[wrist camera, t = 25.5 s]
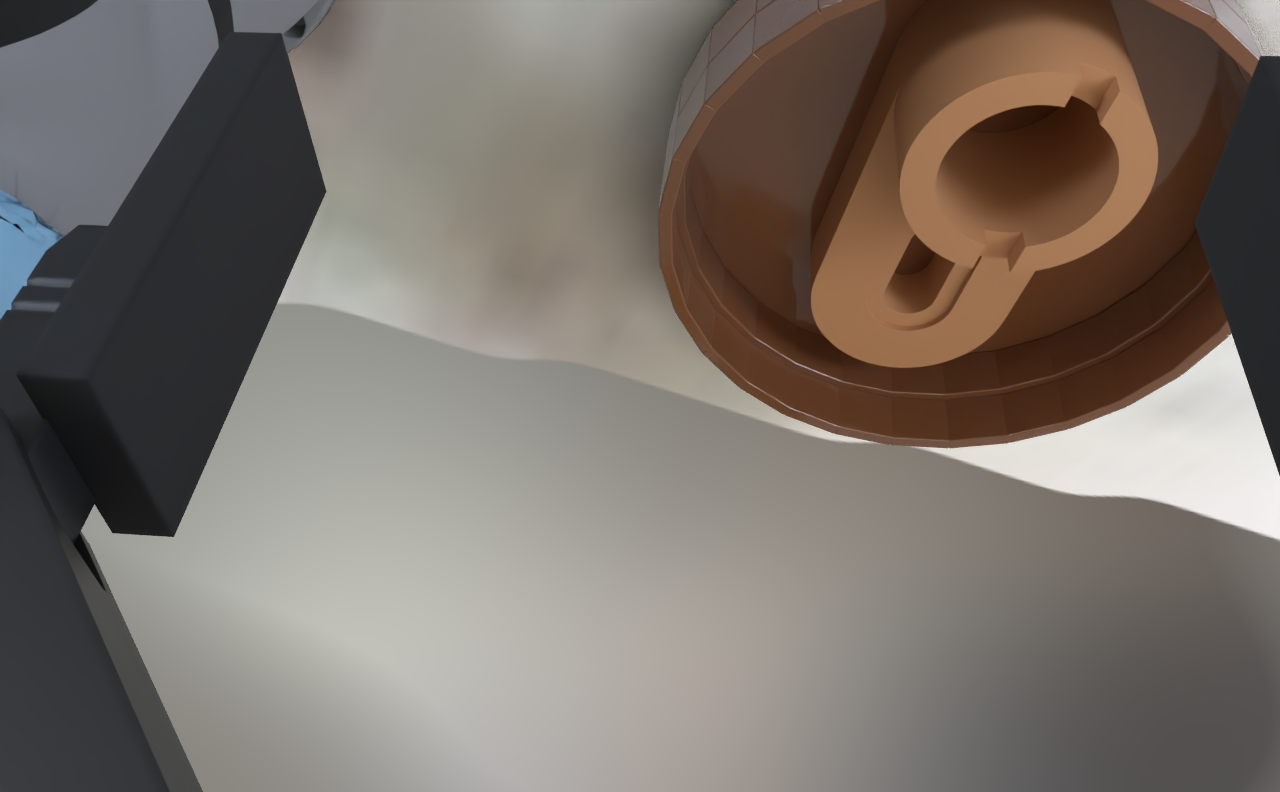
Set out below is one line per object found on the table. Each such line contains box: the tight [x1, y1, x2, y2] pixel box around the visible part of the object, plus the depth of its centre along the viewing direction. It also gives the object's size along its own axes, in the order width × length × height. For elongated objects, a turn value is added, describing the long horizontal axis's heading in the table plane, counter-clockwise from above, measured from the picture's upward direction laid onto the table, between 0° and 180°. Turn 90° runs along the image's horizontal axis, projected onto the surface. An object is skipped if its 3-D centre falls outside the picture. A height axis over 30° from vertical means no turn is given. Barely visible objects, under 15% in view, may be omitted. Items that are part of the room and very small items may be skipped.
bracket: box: [811, 0, 1158, 368], centre depth 46 cm, size 18×8×7 cm, turn 168°
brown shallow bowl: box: [658, 0, 1265, 448], centre depth 47 cm, size 23×23×6 cm
